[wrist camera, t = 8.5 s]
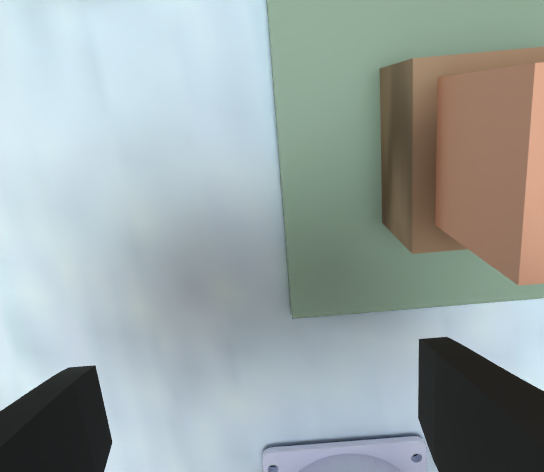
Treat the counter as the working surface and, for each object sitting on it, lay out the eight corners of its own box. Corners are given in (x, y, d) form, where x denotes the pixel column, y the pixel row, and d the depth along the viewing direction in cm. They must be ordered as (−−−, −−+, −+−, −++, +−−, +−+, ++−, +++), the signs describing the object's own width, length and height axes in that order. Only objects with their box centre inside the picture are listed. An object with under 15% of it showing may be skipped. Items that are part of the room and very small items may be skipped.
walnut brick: (528, 210, 19) (596, 238, 15) (382, 222, 19) (412, 254, 15) (540, 54, 17) (621, 39, 13) (379, 68, 17) (412, 58, 13)
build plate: (603, 287, 20) (613, 292, 20) (291, 312, 20) (292, 318, 20) (651, -74, 16) (666, -80, 16) (263, -38, 16) (263, -43, 16)
